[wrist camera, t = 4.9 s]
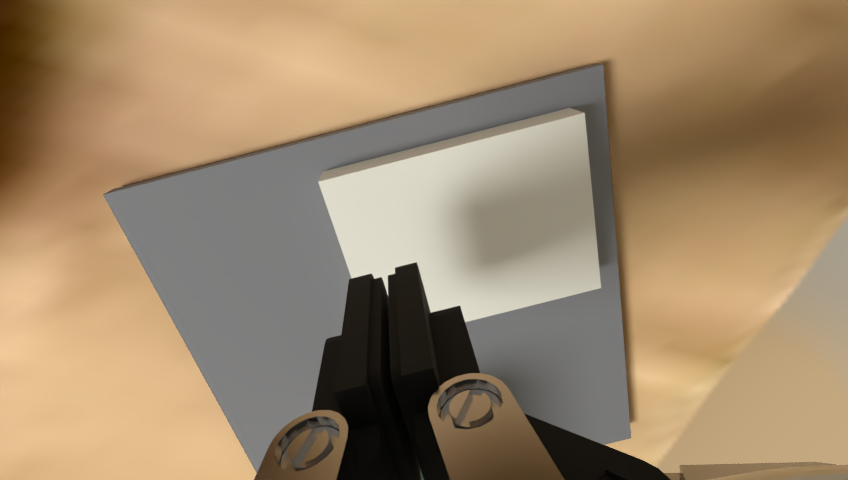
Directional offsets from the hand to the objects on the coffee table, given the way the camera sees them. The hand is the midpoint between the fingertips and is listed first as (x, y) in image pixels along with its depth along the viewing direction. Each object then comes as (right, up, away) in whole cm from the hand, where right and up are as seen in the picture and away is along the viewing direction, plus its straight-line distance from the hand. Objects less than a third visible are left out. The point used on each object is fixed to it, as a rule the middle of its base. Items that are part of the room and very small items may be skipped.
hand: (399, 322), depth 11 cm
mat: (0, -1, +7) cm, 7 cm away
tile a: (-2, +1, +4) cm, 5 cm away
